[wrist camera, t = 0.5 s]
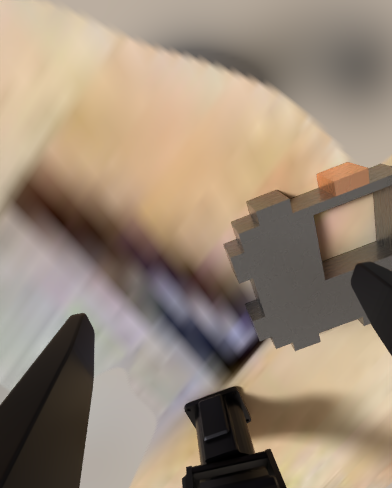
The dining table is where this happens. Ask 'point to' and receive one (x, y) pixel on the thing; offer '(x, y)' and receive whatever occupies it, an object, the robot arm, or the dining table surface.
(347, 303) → the pixel heart plate
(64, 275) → the dining table surface
